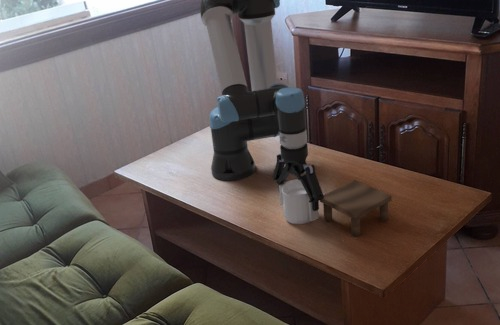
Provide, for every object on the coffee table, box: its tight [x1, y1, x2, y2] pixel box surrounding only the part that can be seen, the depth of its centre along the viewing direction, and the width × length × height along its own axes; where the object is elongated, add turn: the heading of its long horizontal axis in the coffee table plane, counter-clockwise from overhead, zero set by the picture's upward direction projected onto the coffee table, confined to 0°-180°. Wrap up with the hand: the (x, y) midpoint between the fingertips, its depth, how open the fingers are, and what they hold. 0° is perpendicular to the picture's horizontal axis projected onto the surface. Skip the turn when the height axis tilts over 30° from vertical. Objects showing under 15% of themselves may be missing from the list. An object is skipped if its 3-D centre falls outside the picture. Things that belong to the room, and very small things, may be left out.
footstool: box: [319, 179, 393, 238], centre depth 167 cm, size 14×14×8 cm
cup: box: [282, 178, 311, 225], centre depth 172 cm, size 10×10×10 cm
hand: (299, 211), depth 173 cm, fingers open, 12 cm apart
